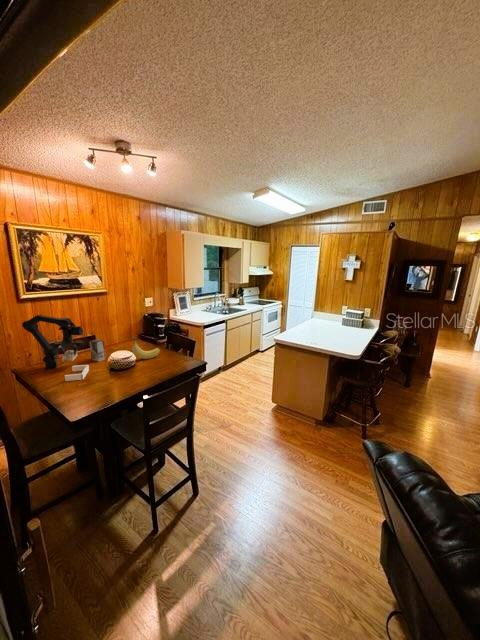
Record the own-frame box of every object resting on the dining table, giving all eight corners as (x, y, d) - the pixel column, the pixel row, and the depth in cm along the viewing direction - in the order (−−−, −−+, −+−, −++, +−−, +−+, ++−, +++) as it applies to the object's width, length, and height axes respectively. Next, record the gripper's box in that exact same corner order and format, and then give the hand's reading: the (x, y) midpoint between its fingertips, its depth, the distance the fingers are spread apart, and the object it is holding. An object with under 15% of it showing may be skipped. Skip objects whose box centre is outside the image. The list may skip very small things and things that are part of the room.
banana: (158, 354, 232) (157, 332, 227) (161, 356, 227) (160, 334, 223) (132, 360, 218) (130, 336, 214) (134, 362, 214) (132, 338, 209)
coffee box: (105, 359, 219) (103, 340, 215) (98, 361, 213) (96, 342, 209) (98, 357, 222) (96, 338, 219) (91, 359, 217) (89, 340, 213)
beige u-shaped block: (65, 381, 179) (64, 375, 178) (73, 371, 195) (72, 365, 194) (83, 379, 182) (82, 374, 181) (89, 369, 198) (88, 364, 197)
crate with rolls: (62, 361, 193) (61, 355, 192) (67, 356, 204) (67, 349, 203) (72, 361, 195) (72, 354, 194) (77, 355, 206) (76, 349, 205)
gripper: (48, 339, 185) (51, 360, 189) (78, 337, 190) (81, 358, 194) (54, 334, 196) (57, 354, 199) (82, 333, 201) (85, 352, 204)
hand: (69, 355), depth 199 cm, fingers closed on crate with rolls, 7 cm apart
